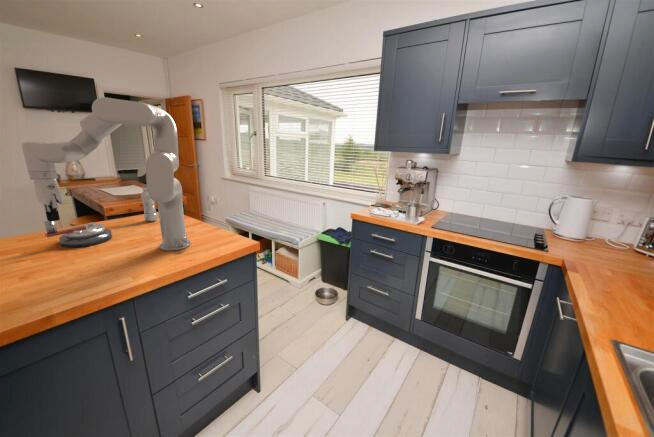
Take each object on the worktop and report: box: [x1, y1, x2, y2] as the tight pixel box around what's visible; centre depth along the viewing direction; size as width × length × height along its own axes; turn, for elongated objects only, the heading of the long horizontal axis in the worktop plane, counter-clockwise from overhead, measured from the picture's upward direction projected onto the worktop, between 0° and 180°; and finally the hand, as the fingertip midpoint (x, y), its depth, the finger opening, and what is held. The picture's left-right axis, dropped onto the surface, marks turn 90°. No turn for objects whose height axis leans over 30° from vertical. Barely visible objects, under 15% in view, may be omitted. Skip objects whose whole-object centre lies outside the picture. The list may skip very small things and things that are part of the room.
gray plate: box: [58, 228, 113, 249], centre depth 125 cm, size 18×18×3 cm
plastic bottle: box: [140, 185, 159, 222], centre depth 154 cm, size 6×7×20 cm
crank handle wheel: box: [43, 220, 106, 239], centre depth 121 cm, size 14×20×9 cm
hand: (53, 220), depth 109 cm, fingers closed
